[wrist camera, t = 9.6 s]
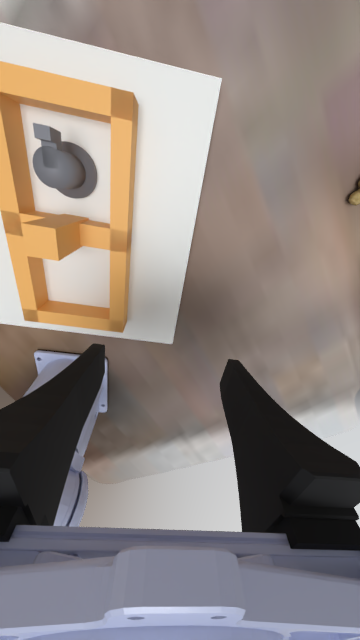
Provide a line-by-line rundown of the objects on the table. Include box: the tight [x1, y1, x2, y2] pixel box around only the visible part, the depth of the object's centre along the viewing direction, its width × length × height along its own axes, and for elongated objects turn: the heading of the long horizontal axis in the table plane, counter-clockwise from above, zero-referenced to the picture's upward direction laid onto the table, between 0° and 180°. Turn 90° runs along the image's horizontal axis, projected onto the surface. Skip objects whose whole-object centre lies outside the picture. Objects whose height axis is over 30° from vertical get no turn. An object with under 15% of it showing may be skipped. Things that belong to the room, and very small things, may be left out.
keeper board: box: [0, 22, 222, 344], centre depth 16 cm, size 20×18×5 cm
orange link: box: [0, 61, 139, 333], centre depth 15 cm, size 16×8×6 cm, turn 170°
